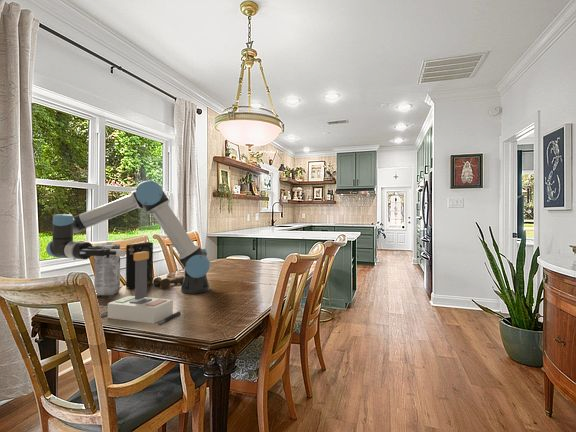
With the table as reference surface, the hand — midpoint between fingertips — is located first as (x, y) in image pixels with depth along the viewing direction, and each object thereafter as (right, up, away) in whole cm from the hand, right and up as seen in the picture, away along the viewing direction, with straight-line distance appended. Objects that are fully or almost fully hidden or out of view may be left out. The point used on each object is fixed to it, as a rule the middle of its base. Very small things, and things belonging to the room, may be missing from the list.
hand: (123, 253), depth 132 cm
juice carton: (-25, -25, +32) cm, 48 cm away
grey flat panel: (+8, -26, -2) cm, 27 cm away
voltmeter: (-17, -25, +50) cm, 58 cm away
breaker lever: (+8, -19, -2) cm, 21 cm away
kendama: (-1, -26, +50) cm, 56 cm away
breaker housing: (+8, -26, -2) cm, 27 cm away
